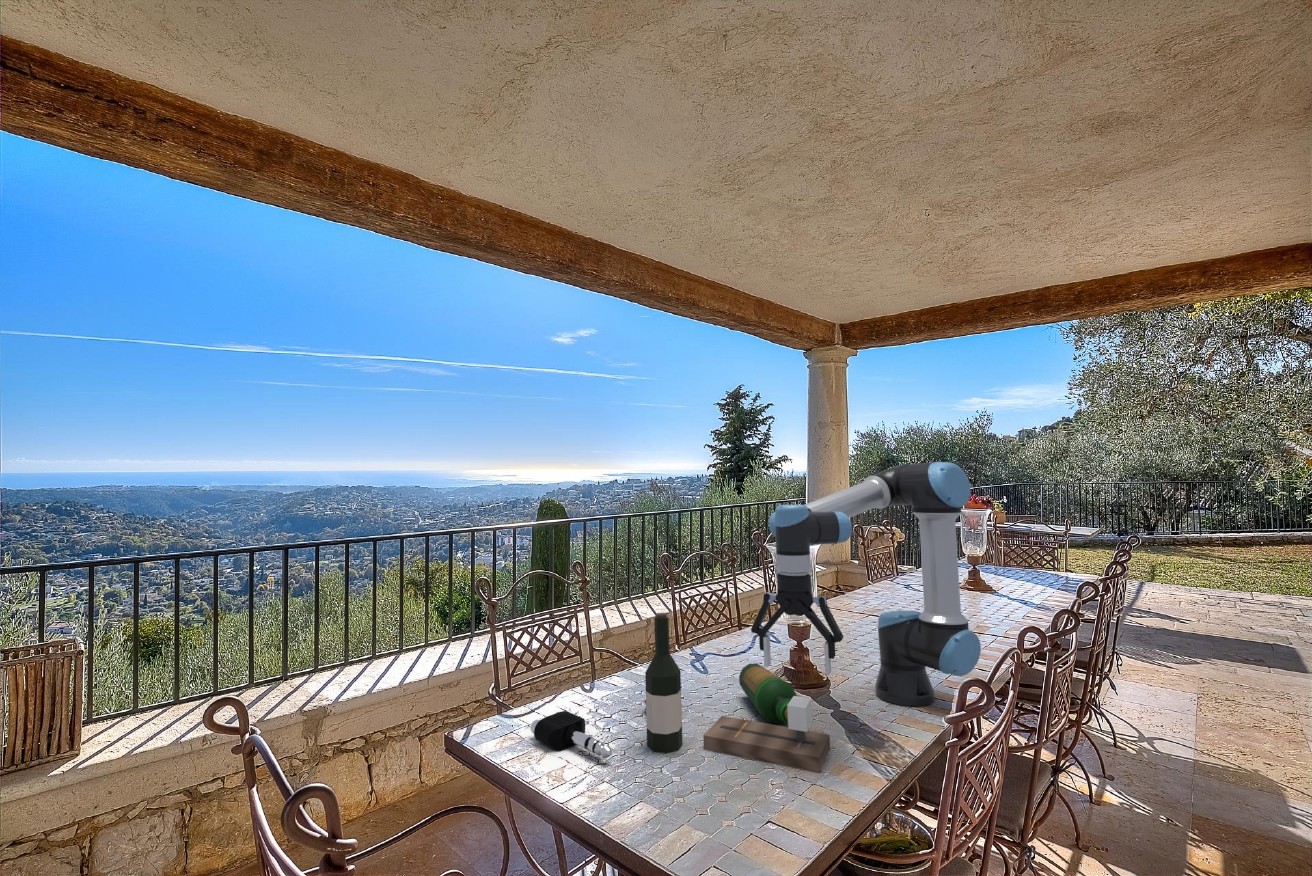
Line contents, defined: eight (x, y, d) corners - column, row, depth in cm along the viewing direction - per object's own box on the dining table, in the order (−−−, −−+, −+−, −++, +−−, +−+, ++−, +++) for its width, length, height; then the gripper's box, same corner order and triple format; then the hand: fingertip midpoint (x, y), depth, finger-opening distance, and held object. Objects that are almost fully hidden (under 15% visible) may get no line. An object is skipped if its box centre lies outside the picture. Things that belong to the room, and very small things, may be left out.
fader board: (830, 748, 128) (829, 734, 129) (819, 772, 118) (818, 757, 118) (722, 728, 140) (722, 715, 140) (703, 748, 129) (703, 734, 130)
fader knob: (813, 736, 127) (811, 698, 128) (807, 747, 122) (805, 707, 123) (795, 733, 129) (793, 695, 130) (788, 744, 124) (787, 705, 124)
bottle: (773, 662, 163) (817, 696, 135) (766, 700, 161) (808, 742, 134) (739, 655, 161) (775, 688, 134) (731, 693, 160) (766, 734, 132)
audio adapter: (564, 704, 144) (629, 732, 127) (564, 726, 144) (630, 757, 126) (527, 717, 137) (591, 750, 119) (527, 740, 136) (591, 776, 119)
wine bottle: (645, 738, 136) (642, 610, 138) (680, 736, 136) (676, 609, 139) (648, 754, 127) (645, 618, 130) (685, 752, 128) (680, 617, 131)
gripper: (853, 573, 126) (858, 671, 124) (746, 568, 138) (749, 657, 136) (848, 578, 120) (852, 682, 118) (735, 572, 131) (738, 666, 129)
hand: (797, 669), depth 127 cm, fingers open, 13 cm apart
